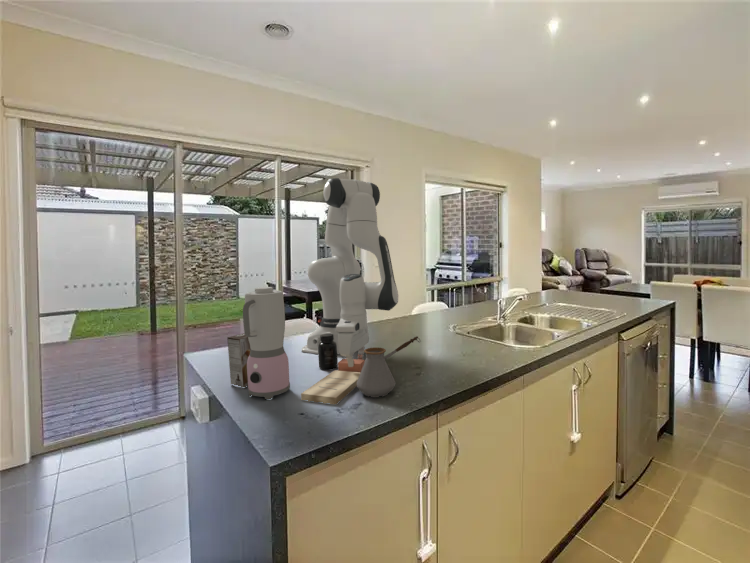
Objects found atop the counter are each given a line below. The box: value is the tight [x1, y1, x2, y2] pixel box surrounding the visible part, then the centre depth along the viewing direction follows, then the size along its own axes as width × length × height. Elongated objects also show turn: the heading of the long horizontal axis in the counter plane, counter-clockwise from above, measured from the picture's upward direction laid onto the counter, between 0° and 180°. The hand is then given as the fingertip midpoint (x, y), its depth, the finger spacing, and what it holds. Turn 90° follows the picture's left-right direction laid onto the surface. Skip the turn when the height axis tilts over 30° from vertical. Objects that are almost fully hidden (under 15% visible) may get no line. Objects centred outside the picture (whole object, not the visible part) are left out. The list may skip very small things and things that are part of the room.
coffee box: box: [227, 332, 251, 387], centre depth 128 cm, size 9×6×16 cm
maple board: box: [300, 369, 361, 405], centre depth 122 cm, size 11×22×2 cm, turn 160°
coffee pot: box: [356, 336, 422, 398], centre depth 119 cm, size 21×12×15 cm, turn 117°
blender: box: [242, 286, 291, 400], centre depth 117 cm, size 16×12×32 cm
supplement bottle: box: [317, 334, 339, 371], centre depth 143 cm, size 7×7×12 cm
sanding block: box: [337, 358, 366, 372], centre depth 136 cm, size 8×5×4 cm, turn 74°
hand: (356, 362), depth 135 cm, fingers open, 8 cm apart
